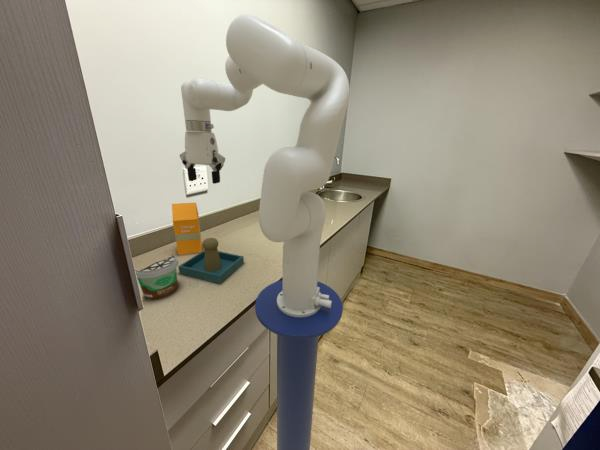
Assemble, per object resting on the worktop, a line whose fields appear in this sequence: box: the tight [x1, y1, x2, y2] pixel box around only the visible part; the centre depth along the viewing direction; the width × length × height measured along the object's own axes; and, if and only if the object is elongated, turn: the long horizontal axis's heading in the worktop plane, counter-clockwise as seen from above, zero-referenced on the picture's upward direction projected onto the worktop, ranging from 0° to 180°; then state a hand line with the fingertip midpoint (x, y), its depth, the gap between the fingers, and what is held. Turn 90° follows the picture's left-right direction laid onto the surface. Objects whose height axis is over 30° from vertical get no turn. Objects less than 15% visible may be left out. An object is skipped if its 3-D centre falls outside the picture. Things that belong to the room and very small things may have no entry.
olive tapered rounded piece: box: [202, 237, 222, 272], centre depth 85 cm, size 6×6×11 cm
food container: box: [134, 253, 179, 300], centre depth 72 cm, size 12×6×10 cm, turn 151°
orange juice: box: [171, 202, 203, 256], centre depth 97 cm, size 8×9×20 cm
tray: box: [177, 249, 245, 285], centre depth 87 cm, size 17×15×3 cm
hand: (204, 181), depth 82 cm, fingers open, 9 cm apart
